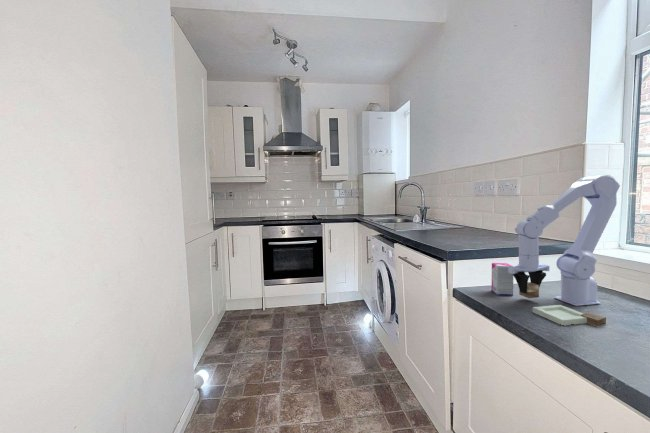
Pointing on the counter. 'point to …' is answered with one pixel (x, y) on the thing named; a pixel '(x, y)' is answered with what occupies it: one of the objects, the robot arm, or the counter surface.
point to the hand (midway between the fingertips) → (528, 291)
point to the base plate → (560, 314)
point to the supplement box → (502, 279)
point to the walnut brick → (594, 319)
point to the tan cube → (531, 291)
